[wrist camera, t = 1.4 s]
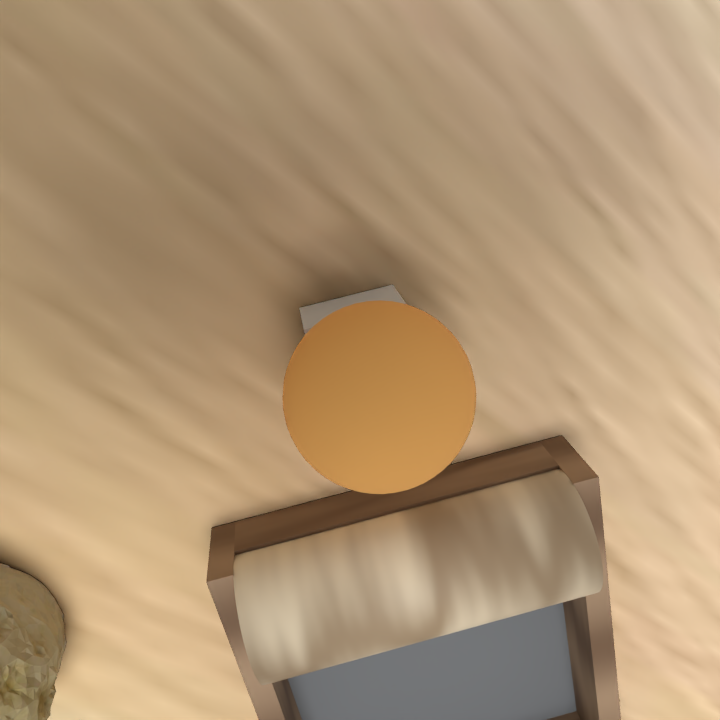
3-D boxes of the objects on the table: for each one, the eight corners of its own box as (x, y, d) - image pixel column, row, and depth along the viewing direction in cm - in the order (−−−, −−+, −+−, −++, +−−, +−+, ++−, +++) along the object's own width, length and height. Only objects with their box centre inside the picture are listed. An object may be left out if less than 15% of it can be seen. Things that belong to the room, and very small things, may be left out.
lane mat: (211, 527, 29) (211, 534, 28) (562, 435, 29) (566, 439, 29) (309, 796, 35) (310, 805, 35) (593, 715, 36) (597, 722, 35)
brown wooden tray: (211, 527, 29) (201, 633, 23) (562, 435, 29) (633, 516, 24) (309, 796, 35) (319, 929, 30) (593, 715, 36) (655, 829, 30)
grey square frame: (299, 308, 26) (303, 329, 23) (392, 284, 26) (406, 303, 24) (321, 393, 27) (327, 421, 25) (410, 370, 27) (424, 396, 25)
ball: (259, 303, 23) (261, 371, 18) (432, 260, 23) (487, 313, 18) (302, 454, 25) (316, 557, 20) (459, 414, 26) (515, 503, 20)
